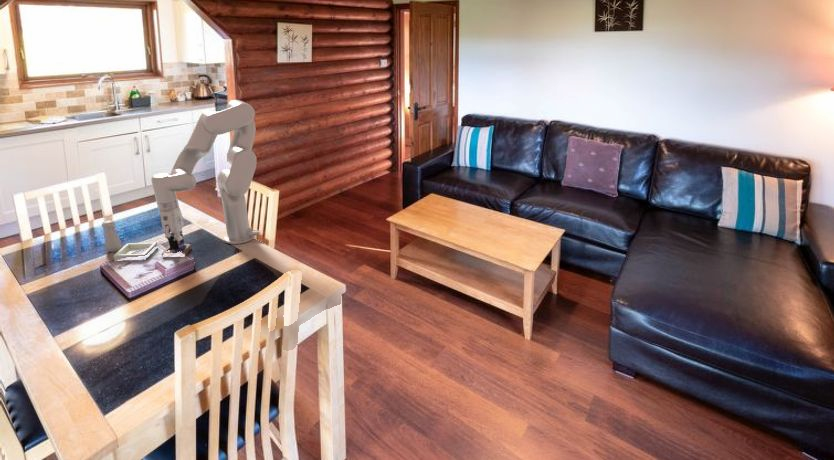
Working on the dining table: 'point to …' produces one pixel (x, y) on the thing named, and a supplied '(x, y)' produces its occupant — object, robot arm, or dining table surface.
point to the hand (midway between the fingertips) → (177, 245)
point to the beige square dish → (186, 250)
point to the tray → (132, 248)
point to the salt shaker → (111, 237)
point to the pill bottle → (179, 243)
